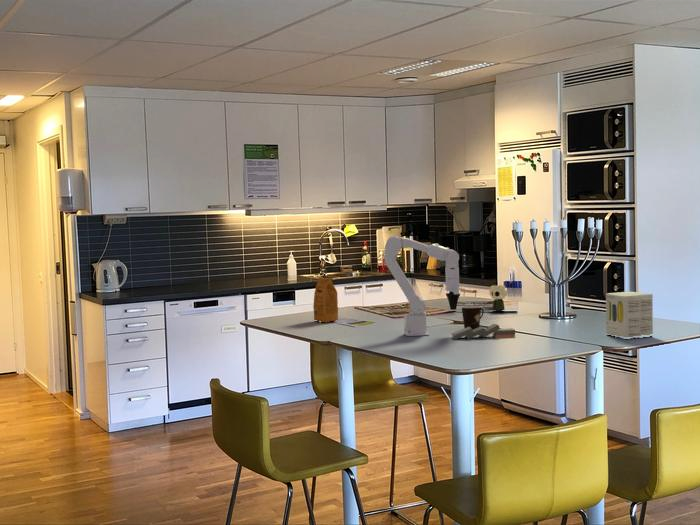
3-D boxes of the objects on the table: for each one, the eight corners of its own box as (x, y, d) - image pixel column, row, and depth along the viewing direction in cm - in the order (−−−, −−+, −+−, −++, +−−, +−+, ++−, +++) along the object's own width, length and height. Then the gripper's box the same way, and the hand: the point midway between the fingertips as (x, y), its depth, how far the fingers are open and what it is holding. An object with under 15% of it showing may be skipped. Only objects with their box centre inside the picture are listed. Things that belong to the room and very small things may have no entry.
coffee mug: (466, 331, 366) (466, 308, 365) (459, 328, 374) (458, 306, 374) (491, 329, 369) (490, 306, 368) (483, 326, 377) (482, 304, 377)
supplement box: (605, 335, 343) (604, 293, 342) (631, 333, 348) (631, 291, 347) (626, 340, 331) (626, 296, 330) (653, 337, 335) (653, 293, 334)
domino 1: (466, 335, 345) (484, 327, 345) (463, 333, 350) (481, 326, 350) (467, 339, 345) (485, 331, 346) (465, 337, 350) (483, 330, 351)
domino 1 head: (453, 335, 345) (471, 328, 345) (451, 333, 350) (469, 326, 350) (455, 339, 345) (473, 332, 345) (453, 337, 350) (470, 330, 350)
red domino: (496, 335, 347) (514, 334, 347) (492, 333, 351) (510, 332, 352) (496, 339, 347) (514, 338, 348) (492, 337, 352) (511, 336, 353)
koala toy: (485, 311, 430) (485, 286, 429) (494, 309, 434) (493, 284, 433) (502, 312, 421) (502, 287, 421) (511, 311, 426) (511, 285, 425)
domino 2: (481, 333, 345) (498, 324, 347) (477, 332, 350) (493, 323, 352) (483, 337, 346) (500, 328, 347) (479, 336, 350) (495, 327, 352)
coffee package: (328, 319, 418) (327, 275, 416) (340, 322, 407) (339, 276, 406) (310, 321, 413) (309, 276, 412) (322, 324, 402) (321, 278, 401)
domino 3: (496, 330, 347) (515, 329, 347) (493, 328, 352) (512, 328, 352) (496, 335, 347) (515, 334, 347) (493, 333, 352) (512, 332, 352)
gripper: (465, 279, 352) (466, 311, 353) (457, 276, 366) (458, 307, 367) (449, 279, 351) (450, 312, 352) (441, 276, 366) (442, 307, 367)
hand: (453, 309), depth 360 cm, fingers closed
